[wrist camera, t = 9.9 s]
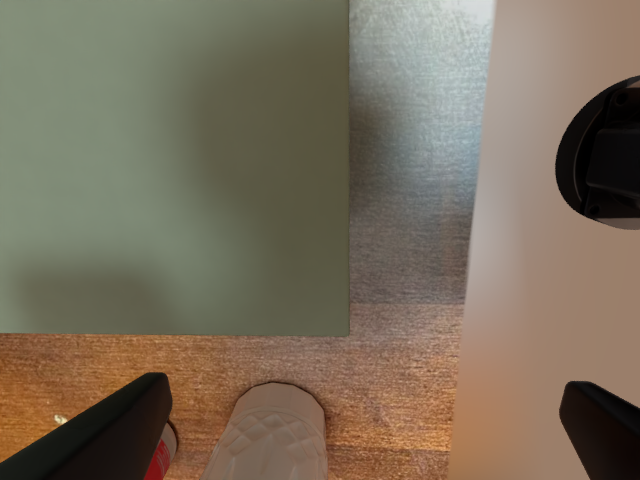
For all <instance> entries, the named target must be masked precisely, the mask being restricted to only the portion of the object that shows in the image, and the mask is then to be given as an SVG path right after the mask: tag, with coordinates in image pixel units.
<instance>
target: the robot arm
mask: <svg viewBox="0 0 640 480" xmlns="http://www.w3.org/2000/svg"><path fill="white" fill-rule="evenodd" d="M619 95H620V97H621V100H620V102H619V103H618V104H617V102H616V99H617V97H618V96H619ZM585 181H586V183H585V188H584V192H583V196H582V201H581V205H580V213H581V215H583V216H584V217H587V218H591V219H612V218H640V87H632V88H620V89H615V90H612V91H611V92H609V94H608V95H607V96H606V98H605V101H604V105H603V109H602V114H601V118H600V122H599V127H598V131H597V134H596V136H595V140H594V145H593V149H592V154H591V158H590V162H589V167H588V171H587V175H586V180H585ZM592 206H594V210H593V211H592V212H590V208H591V207H592ZM172 402H173V401H172V395H171V391H170V386H169V381H168V377H167V375H166V374H165V373H162V372H149V373H146V374H144V375H142V376H141V377H139V378H137V379H136V380H134V381H132V382H131V383H129V384H128V385H126V386H124V387H123V388H121V389H120V390H118V391H116V392H115V393H113V394H111V395H110V396H108V397H107V398H105V399H103V400H102V401H100V402H99V403H97V404H95V405H94V406H92V407H90V408H89V409H87V410H86V411H84V412H82V413H81V414H79V415H77V416H76V417H74V418H73V419H71V420H69V421H68V422H66V423H65V424H63V425H61V426H60V427H58V428H56V429H55V430H53V431H52V432H50V433H48V434H47V435H45V436H43V437H42V438H40V439H39V440H37V441H35V442H34V443H32V444H31V445H29V446H27V447H26V448H24V449H22V450H21V451H19V452H18V453H16V454H14V455H13V456H11V457H9V458H8V459H6V460H5V461H3V462H1V463H0V480H144V478H145V476H146V473H147V471H148V468H149V466H150V463H151V461H152V458H153V456H154V453H155V451H156V448H157V446H158V443H159V440H160V438H161V435H162V433H163V430H164V428H165V425H166V423H167V420H168V418H169V415H170V412H171V409H172ZM559 415H560V419H561V422H562V424H563V426H564V428H565V430H566V432H567V434H568V436H569V438H570V440H571V442H572V444H573V446H574V448H575V450H576V452H577V454H578V456H579V458H580V460H581V462H582V464H583V466H584V468H585V470H586V472H587V474H588V476H589V478H590V480H640V408H638V407H636V406H634V405H633V404H631V403H629V402H627V401H625V400H624V399H622V398H620V397H618V396H616V395H614V394H612V393H611V392H609V391H607V390H605V389H603V388H601V387H600V386H598V385H596V384H594V383H592V382H588V381H570V382H568V383H567V384H566V386H565V390H564V394H563V397H562V401H561V405H560V409H559Z"/></svg>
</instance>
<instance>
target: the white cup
mask: <svg viewBox="0 0 640 480" xmlns="http://www.w3.org/2000/svg"><path fill="white" fill-rule="evenodd" d="M199 480H328V458H327V452H326V424H325V417H324V411H323V409H322V408H321V406H320V405H319V404H318V403H317V401H316V400H315V399H314V397H313V396H312V395H310V394H309V393H307V392H305V391H303V390H301V389H299V388H297V387H295V386H294V385H287V384H280V383H268V384H264V385H260V386H256V387H253V388H251V389H250V390H249V391H248V392H246V393H245V394H244V395H243V396H242V397H240V398H239V399H238V401H237V403H236V405H235V408H234V410H233V412H232V415H231V417H230V419H229V421H228V424H227V426H226V428H225V430H224V432H223V434H222V435H221V437H220V438H219V439H218V442H217V444H216V446H215V448H214V450H213V452H212V454H211V456H210V458H209V460H208V463H207V465H206V467H205V469H204V471H203V473H202V475H201V477H200V479H199Z"/></svg>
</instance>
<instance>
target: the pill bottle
mask: <svg viewBox="0 0 640 480" xmlns="http://www.w3.org/2000/svg"><path fill="white" fill-rule="evenodd" d="M176 446H177V443H176V437H175V434H174V432H173V430H172V428H171V427H170V426H169V424H168V423H166V425H165V428H164V430H163V433H162V435H161V438H160V440H159V443H158V446H157V448H156V451H155V453H154V456H153V458H152V461H151V463H150V466H149V468H148V471H147V473H146V476H145V478H144V480H163V478H164V476H165V474H166V472H167V470H168V468H169V466H170V464H171V462H172V459H173V457H174V455H175V452H176Z"/></svg>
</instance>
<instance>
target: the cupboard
mask: <svg viewBox="0 0 640 480" xmlns="http://www.w3.org/2000/svg"><path fill="white" fill-rule="evenodd" d="M0 333H44V334H139V335H234V336H329V337H347V336H349V334H350V274H349V0H0Z"/></svg>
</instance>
